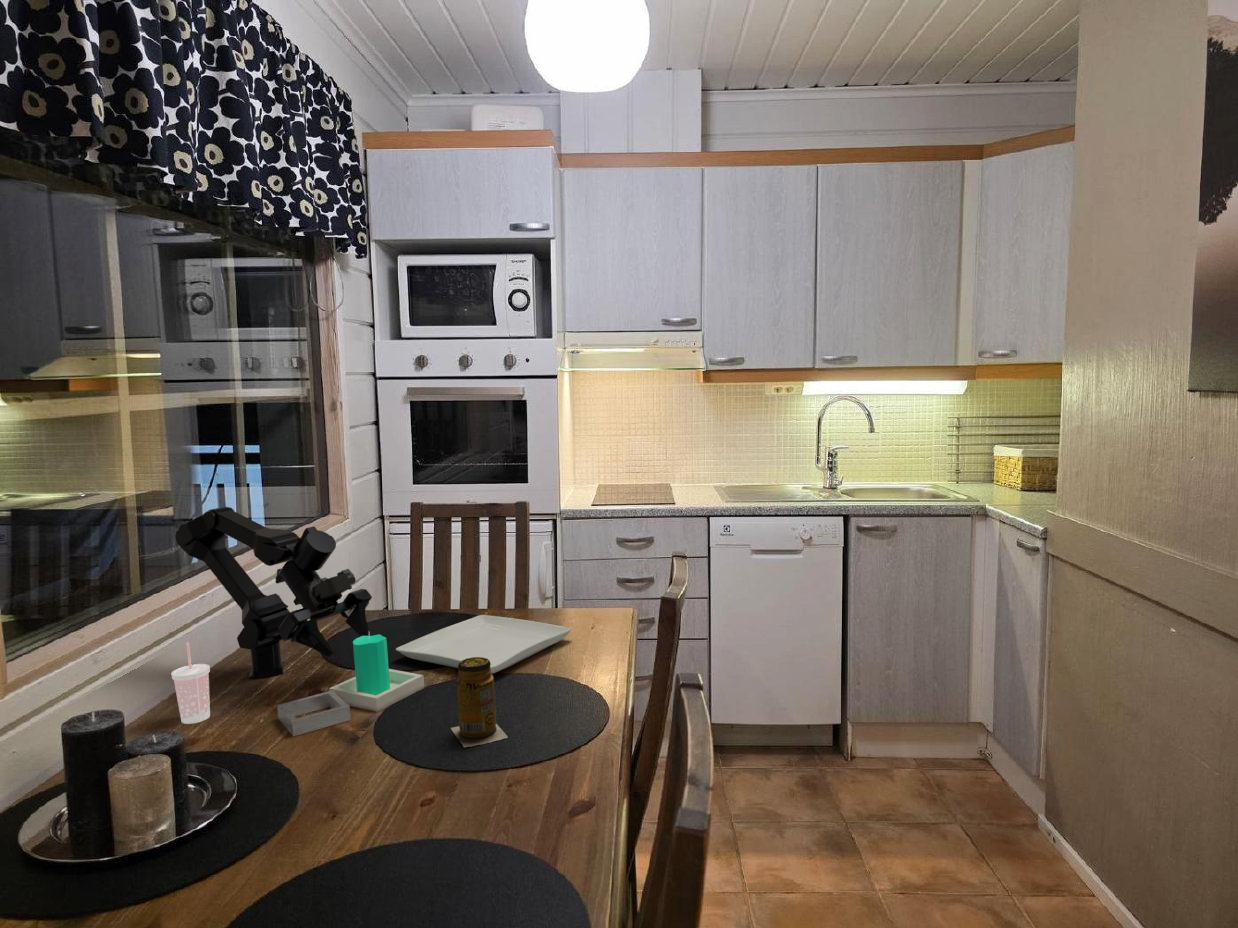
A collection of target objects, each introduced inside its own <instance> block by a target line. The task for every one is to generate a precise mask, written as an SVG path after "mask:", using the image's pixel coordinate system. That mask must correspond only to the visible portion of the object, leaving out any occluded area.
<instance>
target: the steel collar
mask: <svg viewBox="0 0 1238 928" xmlns="http://www.w3.org/2000/svg"><path fill="white" fill-rule="evenodd" d="M276 706H277V715H278V717H277V718H278V720H279V721H280V723H282V725H283V726H284V727H285V729H286V730H287V731H288V732H289V733H290V734H291V735H292V737H297V736H300V735H303V734H307V733H311V732H314V731H315V732H316V731H318V730H321V729H324V728H327V727H328V728H329V727H331V726H335V725H338V724H342V723H345V722H348V721H351V719H352V717H351V706H349V705H348V704H347V703H346V702H344V701H343V700H342V699H341V698H340V697H339V696H338V695H337V694H336V693H334V692H333V691H329V690H328V691H326V692H322V693H317V694H315V695H311V696H310V695H309V696H306V697H303V698H298V699H296V700H295V699H294V700H291V701H287V702H283V703H280V704H277V705H276ZM326 708H330V709H327V710H324V711H319V710H322V709H326ZM315 711H316V713H312V712H315ZM317 711H319V712H317ZM309 713H312V714H309ZM305 714H309V715H306V716H305ZM301 715H304V716H302V717H298V716H301Z"/></svg>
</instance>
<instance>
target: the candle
mask: <svg viewBox="0 0 1238 928" xmlns="http://www.w3.org/2000/svg"><path fill="white" fill-rule="evenodd" d="M352 649H353V660H354V661H353V662H354V671H355V672H354V674H355V677H356V687H357V692H362V693H367V694H372V695H378V694H381V693H383V692H385V691H387V690H389V689H390V678H389V669H390V668H389V666H390V665H389V656H388V655H389V653H388V642H387V637H385V636H383V635H381V634H375V635H371V634H370V632H369V636H361V637H360V636H359V637H357V638H355V639H354V640H353V641H352Z"/></svg>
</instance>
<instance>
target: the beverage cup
mask: <svg viewBox="0 0 1238 928" xmlns="http://www.w3.org/2000/svg"><path fill="white" fill-rule="evenodd" d="M185 646H186V654H187V662H188V663H187V664H188V665H185V666H181V667H179V668H176V669H174V670H172V671H171V673H170V675H171V679H172V680H173V682H174V688H175V694H176V700H177V705H178V711H179V717H180V720H181V721H180V722H181V723H182V724H185V725H190V724H197V723H201V722H204V721H206V720H208V719H209V718H210V716H211V707H210V706H211V705H210V703H211V702H210V678H209V677H210V676H209V673H210V672H211V667H210V664H206V663H195V664H192V657H191V648H190V642H189V641H186V645H185Z"/></svg>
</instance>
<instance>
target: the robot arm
mask: <svg viewBox="0 0 1238 928" xmlns="http://www.w3.org/2000/svg"><path fill="white" fill-rule="evenodd" d="M177 529H178V530H176V532H175V535H174V536H175V541H176V543H177V545H178V546H179V547H180V549H181V550H183V551H184V552H185V553H186V554H187V555H188V556H190V557H192V558H194V559H197V560H199V561H202V562H204V563H205V565H206V566H207V567H208V568H209V570H210V571H211V573H213V575H214V577H216V579H217V580H218V582H219V583H220V584H221V585H222V586H223V588H224V589H225V591H226V592H227V593H228V594H229V595H230V597H231V598H232V599H233V601H234V602H235V603H236V604H237V606H238V607H239V608H240V610H241V624H242V626H243V628H242V629H241V631H240V633H239V634H238V636H236V640H237V643H238V646H239V648H240V649H244V650H245V649H246V650H249V651H250V661H251V669H250V670H249V674H248V679H256V678H263V677H269V676H271V677H272V676H278V675H283V674H284V673H285V669H286V661H283V659H282V647H281V641H282V640H283V641H284V642H287V641H289V640H290V642H292V643H299V644H301V645H303V646H305V647H308V648H310V649H312V650H314V651H317V652H318V653H320V654H323V655H324V656H326V657H329V658H331V657H333V655H334V652H333V650H332V647H331V646H330V645H329V642H328V641H327V640H326V638H325V637H324V635H323V634H322V633H321V631H320V630H319V626H318V622H319V621H322V620H324V619H327V618H330V617H333V616H336V615H339V614H340V615H341V617H343V618H345V620H344V622H345V623H346V624H347V625H348V626H349V627H350V628H351V629H352V630H353V631H354V632H355V633H356V634H357V635H358V636H359V637H361V636H369V633H370V629H369V624H368V621H367V616H366V608H367V607H368V605H369V604H370V601H371V600H372V598H373V596H372V595H371V594H370V592H369V591H368V590H367V589H364V588H360V589H357V590H354V591H351V592H348V594H347V595H346V596H345V597H344V599H343V601H341V602H338V600H341V599H342V597H343V594H342V593H344V592H345V591H347V590H349V591H350V590H351V589H353V587H352V586H353V585H354V584H356V581H357V580H356V578H355V574H354V573H353V572H352V571H351V569H349V568H346V569H343V570H341V571H340V572H337V573H336V575H335V576H331V577H329V578H327V577H326V576H325V577H320V575H319V574H318V573H317V571H319V570H321V569H322V568H323V567H324V565H325V564H326V562H327V560H328V559H329V558H330V556H331V555H332V554H333V552H334V551H335V549H336V547H337V543H336V540H335V538H334V536H333V535H330V534H329V533H328V532H325V531H322V530H318V529H317V528H316V526H313V525H312V526H309V527H305V529H304V530H303V531H302V535H301V536H299V535H298V534H297V533H296V532H293V531H290V530H286V529H282V528H280V529H278V528H269V527H267V526H264V525H262V524H261V523H258V522H256V521H254V520H252V519H251V518H248V517H247V516H245V515H242V514H240V513H239V512H236V511H235V509H233V508H232V507H229V506H222V507H216V508H211V509H209V510H208V511H205V512H204V513H203V514H201V515H200V516H198V517H196V518H194V519H191V520H190V521H188V522H184V523H181V524H180V525H179V527H178V528H177ZM226 536H227V537H228V536H229V537H230V538H232V539H234V540H236V541H238V542H239V543H242V544H244V545H245V546H247V547H249V548H251V549H252V552H253V556H254V557H255V558H257V559H258V560H259V561H260V562H261V563H263V564H264V565H266V566H269V567H272V566H275V565H279V564H283V563H284V565H283V566H282V567H281V568H277V570H276V576H275V583H276V584H282V583H285V584H286V585H287V587H288V588H289V590H290V591H291V593H292V594H293V595H294V597H295V598H294V599H293V600H292V602H293V604H294V605H295V606H299V605H300V606H301V607H302V608H299V609H295V610H293V611H290V610H289V609H288V608H289V605H287V604H286V602H284V600H283V599H282V598H281V597H280V595H279V594H277V593H273V594H269V595H267V594H265V593H263V592H262V591H261V590H260V588H259V587H258V586H257V584H256V583H255V582H254V581H253V579H252V578H251V577H250V576H249V575H248V573H247V572H246V571H245V570H244V568H243V567H242V566H241V564H240V563H239V562H238V561H237V560H236V558H235V556H233V554H232V553H231V552H230V551H229V549H227V546H226V539H227V538H226Z"/></svg>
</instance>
